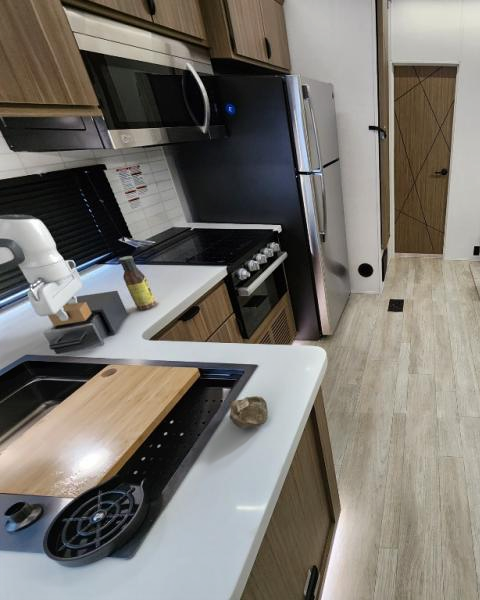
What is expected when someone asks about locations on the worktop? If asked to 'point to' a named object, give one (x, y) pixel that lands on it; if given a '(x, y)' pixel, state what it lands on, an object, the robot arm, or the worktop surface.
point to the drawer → (78, 334)
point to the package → (72, 314)
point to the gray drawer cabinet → (106, 308)
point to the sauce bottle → (137, 284)
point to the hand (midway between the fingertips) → (70, 314)
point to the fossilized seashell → (249, 412)
